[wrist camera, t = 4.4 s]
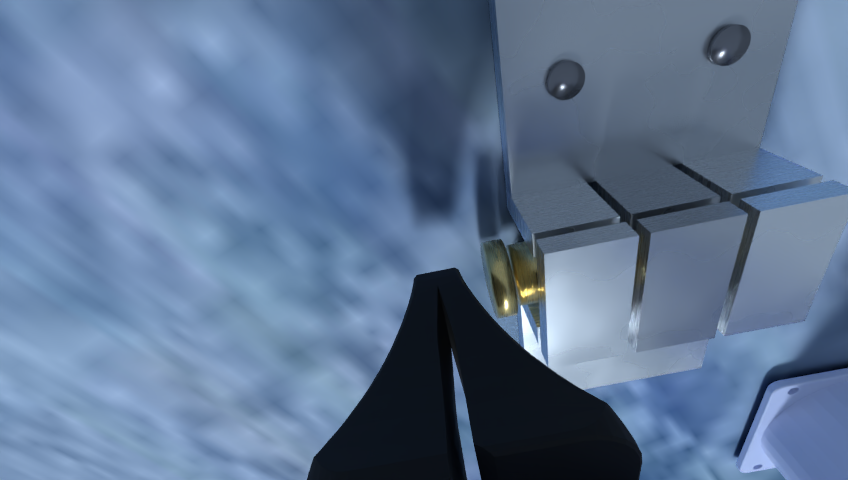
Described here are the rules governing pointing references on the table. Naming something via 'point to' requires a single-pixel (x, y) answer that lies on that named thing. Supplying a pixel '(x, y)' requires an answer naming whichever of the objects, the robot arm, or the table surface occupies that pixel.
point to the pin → (509, 276)
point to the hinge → (653, 180)
